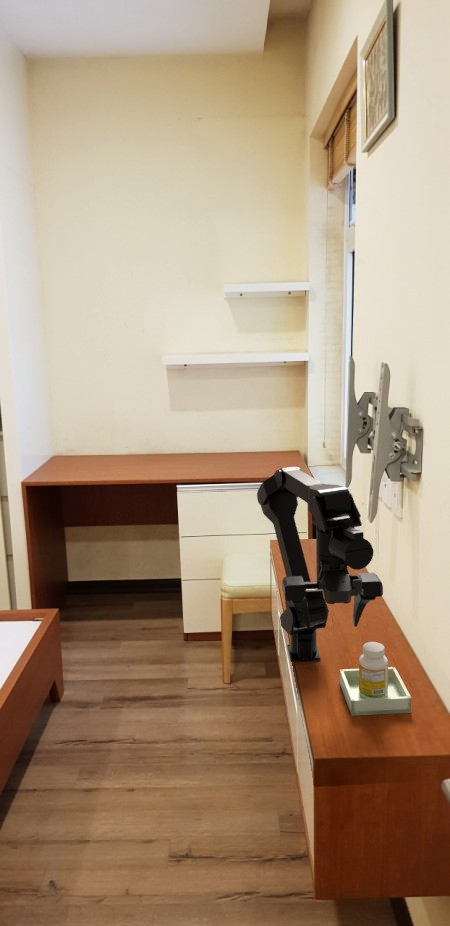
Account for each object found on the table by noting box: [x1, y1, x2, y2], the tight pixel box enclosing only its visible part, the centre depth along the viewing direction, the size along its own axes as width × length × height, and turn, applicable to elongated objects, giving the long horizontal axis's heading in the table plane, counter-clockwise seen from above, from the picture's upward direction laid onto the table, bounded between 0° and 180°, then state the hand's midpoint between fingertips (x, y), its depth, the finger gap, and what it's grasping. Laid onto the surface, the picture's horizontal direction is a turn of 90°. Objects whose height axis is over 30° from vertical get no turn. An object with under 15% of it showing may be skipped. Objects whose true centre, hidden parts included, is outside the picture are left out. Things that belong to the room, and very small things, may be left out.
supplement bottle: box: [358, 641, 389, 698], centre depth 126 cm, size 5×5×10 cm
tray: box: [339, 666, 412, 717], centre depth 127 cm, size 11×11×3 cm
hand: (331, 627), depth 130 cm, fingers open, 9 cm apart
